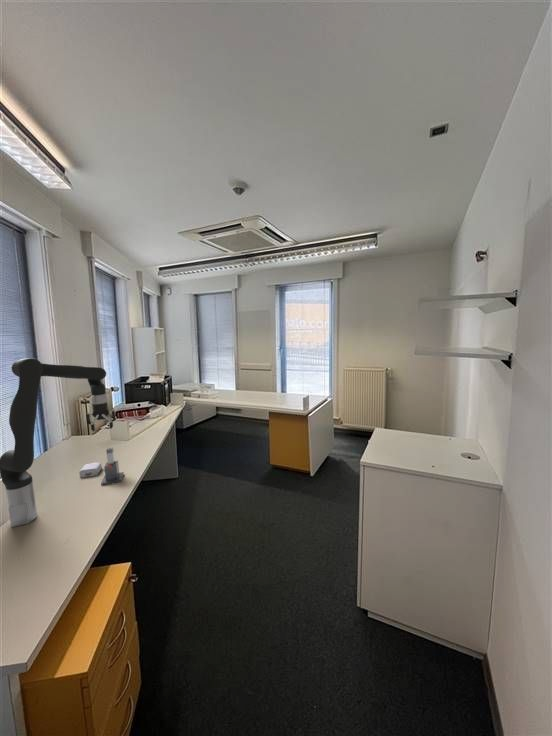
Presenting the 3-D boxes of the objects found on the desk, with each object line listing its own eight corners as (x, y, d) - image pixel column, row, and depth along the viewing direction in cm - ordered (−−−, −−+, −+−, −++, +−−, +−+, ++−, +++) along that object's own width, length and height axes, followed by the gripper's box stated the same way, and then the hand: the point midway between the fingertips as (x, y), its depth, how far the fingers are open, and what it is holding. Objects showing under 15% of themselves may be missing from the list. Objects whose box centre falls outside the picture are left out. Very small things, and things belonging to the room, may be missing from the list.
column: (115, 477, 167) (112, 449, 165) (109, 478, 166) (106, 450, 164) (116, 474, 170) (113, 447, 168) (110, 475, 169) (107, 448, 167)
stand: (121, 482, 165) (119, 465, 164) (101, 485, 162) (99, 468, 160) (123, 474, 174) (122, 458, 173) (105, 477, 171) (103, 461, 170)
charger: (104, 465, 189) (97, 475, 174) (88, 467, 186) (79, 478, 172) (104, 458, 188) (96, 468, 174) (88, 460, 186) (79, 470, 171)
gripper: (83, 405, 157) (86, 433, 159) (112, 402, 162) (115, 429, 164) (86, 402, 164) (89, 429, 166) (114, 399, 169) (117, 425, 171)
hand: (102, 429), depth 165 cm, fingers open, 8 cm apart
